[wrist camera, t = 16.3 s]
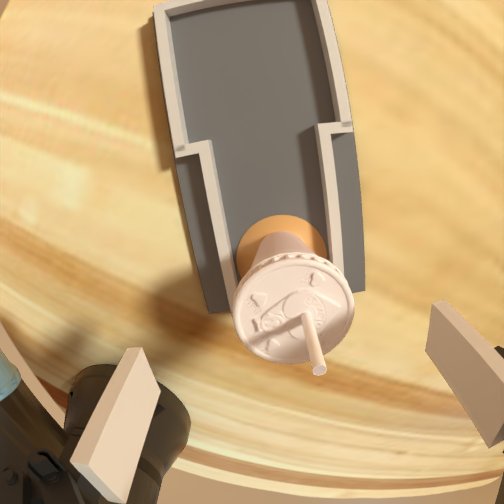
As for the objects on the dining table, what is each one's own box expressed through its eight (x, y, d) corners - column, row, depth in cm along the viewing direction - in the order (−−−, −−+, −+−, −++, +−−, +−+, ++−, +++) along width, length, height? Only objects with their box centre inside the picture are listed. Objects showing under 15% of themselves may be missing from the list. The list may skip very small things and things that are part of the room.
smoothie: (327, 280, 26) (383, 403, 12) (252, 298, 26) (247, 433, 13) (313, 204, 23) (379, 282, 10) (230, 224, 24) (200, 324, 11)
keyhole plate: (209, 310, 27) (206, 322, 25) (154, 14, 19) (146, 5, 17) (363, 287, 26) (370, 298, 24) (321, -11, 18) (326, -22, 16)
